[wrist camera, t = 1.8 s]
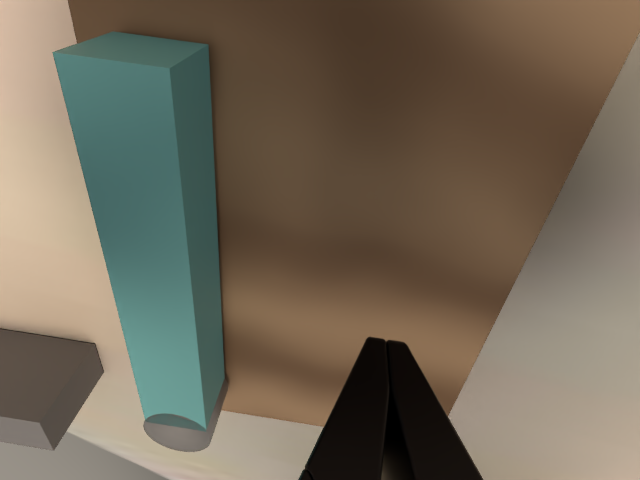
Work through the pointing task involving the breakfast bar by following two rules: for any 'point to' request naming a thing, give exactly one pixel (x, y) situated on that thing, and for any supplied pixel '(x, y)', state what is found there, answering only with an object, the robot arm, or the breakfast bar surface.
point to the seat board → (379, 170)
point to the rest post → (43, 386)
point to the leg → (155, 217)
